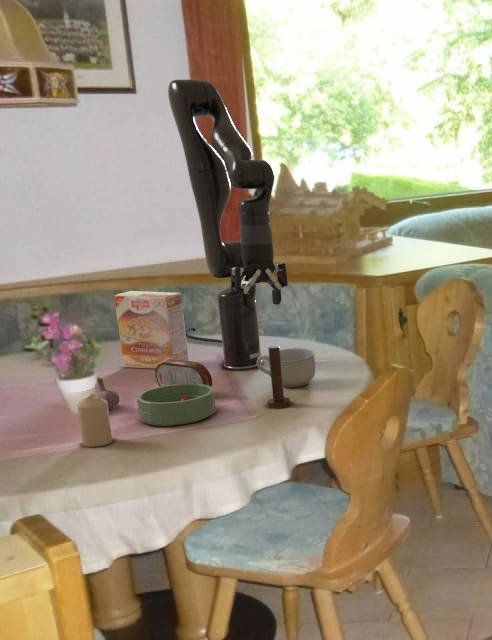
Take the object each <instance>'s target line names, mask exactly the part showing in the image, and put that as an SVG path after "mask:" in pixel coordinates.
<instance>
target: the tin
mask: <svg viewBox="0 0 492 640" xmlns="http://www.w3.org/2000/svg"><path fill="white" fill-rule="evenodd" d="M154 374H155V379H156V383H157V385H158V387H161V386H166V385H174V384H189V383H192V384H203V385H208V386H211V387H213V378H212V374H211V372H210V371H209V370H208V368H207V366H205V365H204V364H203V363H200V362H198V361H191V360H189V361H183V360H176V359H168V360H166V361H165V362H162V363H160V364H159V365H158V366H157V368H156V369H154Z"/></svg>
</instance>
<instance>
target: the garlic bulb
mask: <svg viewBox="0 0 492 640" xmlns="http://www.w3.org/2000/svg"><path fill="white" fill-rule="evenodd" d="M96 380H97V381H96V382H97V383H98V390H99V391H98V392H95V393H91V394H90V395H89V396H91V395H97V396H98V397H101V398H102V399H104V400H106V401H107V404H108V411H110V410H113V409H114V408H116V407H117V406H118V405H119V404H120V403H119V402H120V395H119V393H118V392H117V391H116V390H114V389H112V388H106V387H105V383H104V381H103V377H101V376H97V377H96Z"/></svg>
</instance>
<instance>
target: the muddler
mask: <svg viewBox="0 0 492 640" xmlns="http://www.w3.org/2000/svg"><path fill="white" fill-rule="evenodd" d="M267 350H268V356H269V360H270V365H269V370H270V371H271V377H270V382H271V391H272V398H269V399H268V400H267V407H268V408H269V409H283V408H287V407H290V405H291V398H289V397H287V396H286V397H285V393H284V387H283V381H282V370H281V360H280V350H281V349H280V346H279V345H271V346H270V345H269V346H268V348H267Z"/></svg>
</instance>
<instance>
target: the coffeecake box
mask: <svg viewBox="0 0 492 640" xmlns="http://www.w3.org/2000/svg"><path fill="white" fill-rule="evenodd" d="M114 305H115V311H116V319H117V325H118V334H119V342H120V349H121V356H122V364H123V365H122V366H123V368H133V369H135V368H136V369H154V370H156V368H157V366H158V365H159V364H160V363H162V362H165V361H166V360H168V359H176V360H183V361H190V359H189V350H188V341H187V336H186V332H187V331H186V325H185V317H184V316H185V315H184V308H183V299H182V293H181V292H168V291H167V292H166V291H165V292H164V291H141V290H140V291H139V290H135V291H134V290H129V291H126V292H122V293H118V294H115V295H114Z"/></svg>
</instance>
